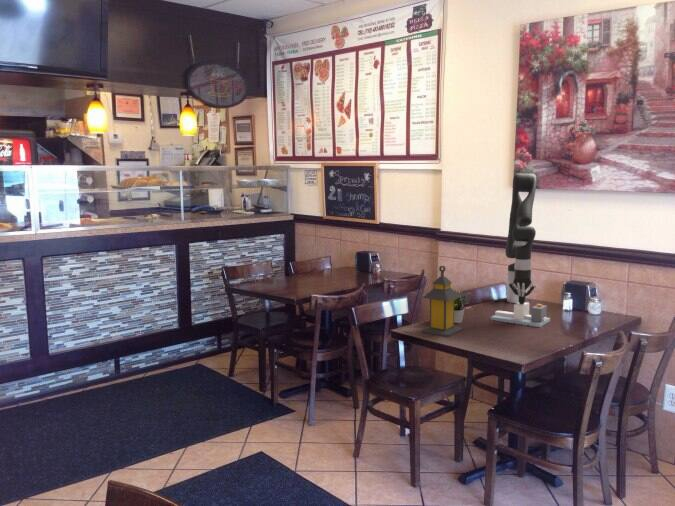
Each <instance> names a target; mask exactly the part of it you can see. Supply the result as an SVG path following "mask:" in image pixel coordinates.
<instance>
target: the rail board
mask: <svg viewBox="0 0 675 506" xmlns="http://www.w3.org/2000/svg"><path fill="white" fill-rule="evenodd" d="M547 313H548V305H544V304H542V303H537V304H536V305H534V306H532V307H531V313H530V314H529V315H527V314H526V315H524V320H519V319H514V311H513V312H511V311H504V310H495V311H494V315H492V316H490V321H494V320H495V322H501V323H507V322H508V323H509V324H514V323H515V324H516V325H521V324H522V325H523V326H527V325H529V327H536V328H542V327H543V326H544V325H546V324H548V323H550V322H551V317H548V316H547V315H548V314H547ZM508 323H507V324H508ZM522 325H521V326H522Z"/></svg>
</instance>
